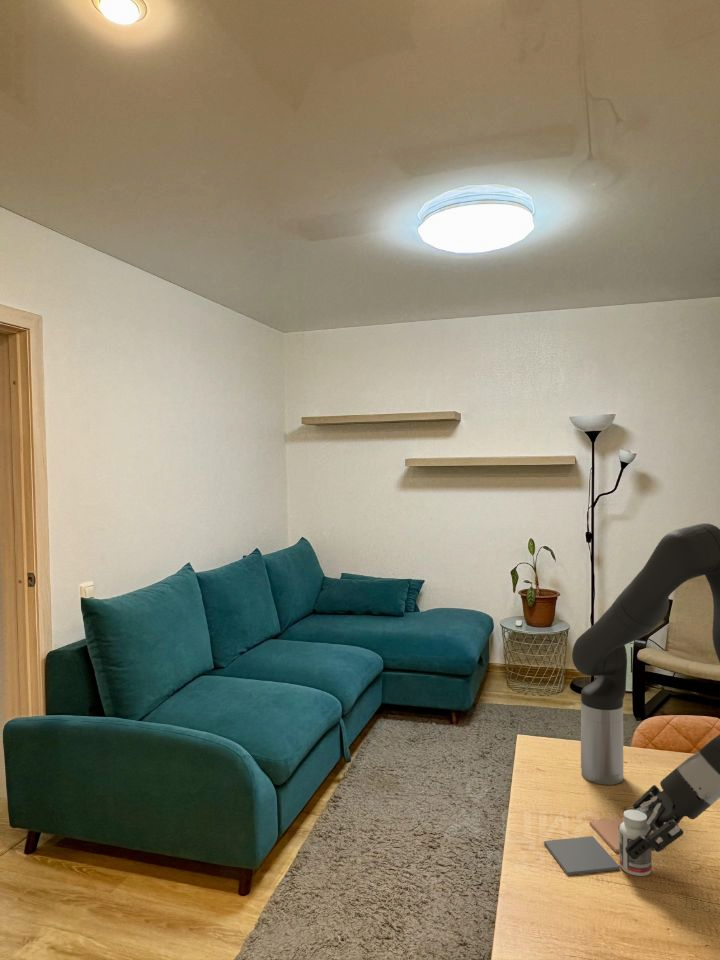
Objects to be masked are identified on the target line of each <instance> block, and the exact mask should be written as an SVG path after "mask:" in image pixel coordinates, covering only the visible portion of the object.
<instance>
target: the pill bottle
mask: <svg viewBox="0 0 720 960" xmlns="http://www.w3.org/2000/svg"><path fill="white" fill-rule="evenodd" d="M622 818H623V821H624V822H623V823H621V825H620V827H619V850H620V851H619V852H618V854H619V866H620V869H622V870H623V872H625V873H628V874H629V875H632V876H637V877H646V876H648V875H650V874H651V872H652V863H653V862H652V849H651V848H649V849H648V850H646V851H645V852H644V853H643V854H642V855H640V856H639V857H638V858H637V859H632V858H631V857H630V856H629V855H628V854H627V853H626V850H625V848H626V847H627V846H628V845H629V844H630V843H632V842H633V841H634V840H635V839H636V838H637V837H639V836H641V835H642V833H643V832H644V830H645V829H646V827H647V826H646V822H647V816H646V814H644V813H643V812H641V811H638V810H626V811H623V817H622ZM650 834H651V833H650Z"/></svg>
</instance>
